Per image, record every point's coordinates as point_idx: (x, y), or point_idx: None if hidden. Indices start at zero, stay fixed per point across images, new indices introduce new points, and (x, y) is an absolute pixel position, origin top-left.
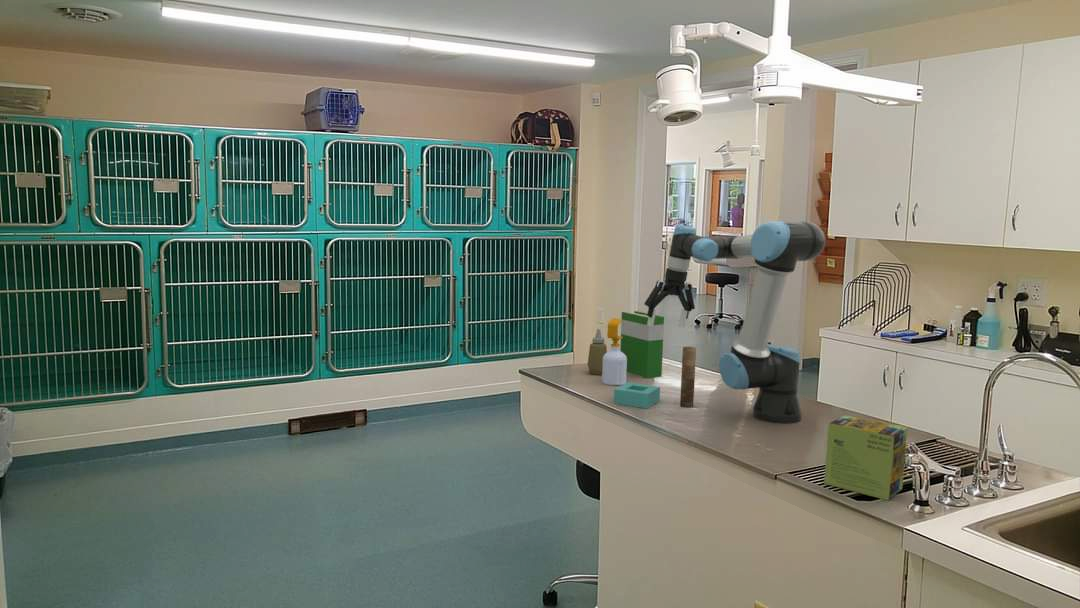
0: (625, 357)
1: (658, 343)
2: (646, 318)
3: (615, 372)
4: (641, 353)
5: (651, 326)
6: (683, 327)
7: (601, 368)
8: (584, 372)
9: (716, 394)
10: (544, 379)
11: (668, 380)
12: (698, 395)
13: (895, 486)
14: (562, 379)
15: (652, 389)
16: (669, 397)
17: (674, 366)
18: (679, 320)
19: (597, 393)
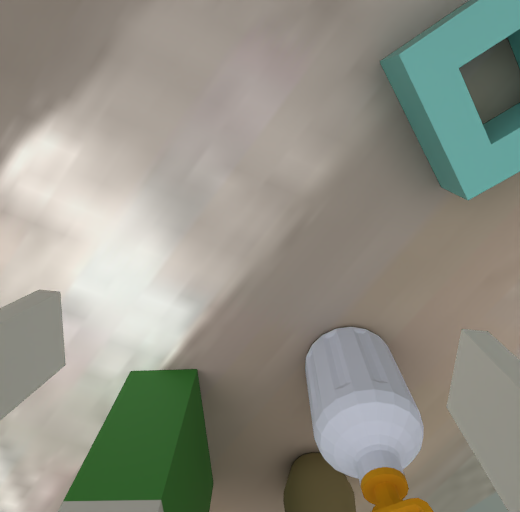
0: (343, 405)
1: (100, 483)
2: None
3: (384, 360)
4: (183, 470)
5: (486, 332)
6: (41, 294)
7: (324, 468)
8: None
9: (69, 54)
10: None
11: (137, 321)
12: (158, 74)
13: None
14: (466, 452)
15: (475, 20)
16: (298, 98)
17: (9, 458)
18: (20, 398)
19: (507, 267)
